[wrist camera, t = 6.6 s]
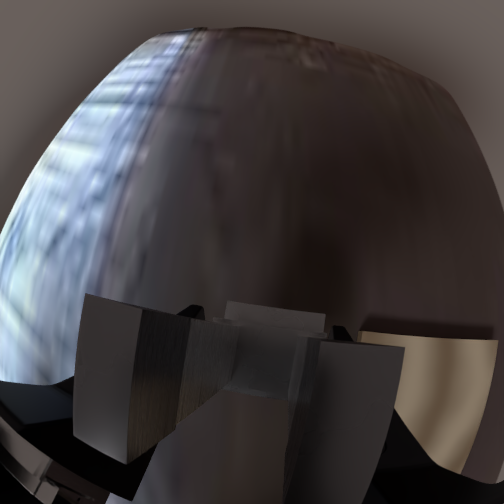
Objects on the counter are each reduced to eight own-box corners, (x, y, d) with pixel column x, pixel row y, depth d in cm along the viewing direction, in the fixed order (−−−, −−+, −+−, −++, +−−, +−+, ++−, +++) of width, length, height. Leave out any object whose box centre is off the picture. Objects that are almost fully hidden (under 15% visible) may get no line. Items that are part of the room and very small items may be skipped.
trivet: (315, 488, 15) (316, 495, 14) (358, 331, 18) (362, 331, 17) (450, 477, 13) (456, 481, 11) (490, 340, 16) (498, 340, 15)
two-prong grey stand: (221, 380, 15) (64, 472, 3) (234, 304, 16) (89, 221, 4) (307, 394, 14) (356, 550, 2) (321, 316, 15) (432, 260, 3)
